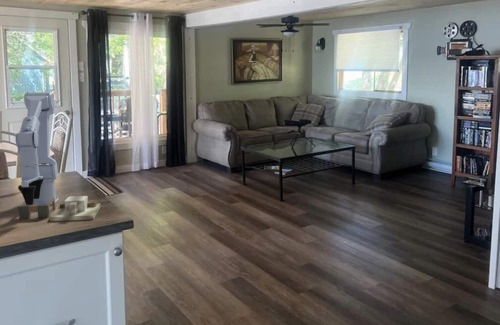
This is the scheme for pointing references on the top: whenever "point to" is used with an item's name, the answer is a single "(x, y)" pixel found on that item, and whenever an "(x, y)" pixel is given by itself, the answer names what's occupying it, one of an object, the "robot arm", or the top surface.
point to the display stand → (76, 209)
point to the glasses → (35, 209)
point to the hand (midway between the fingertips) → (32, 201)
